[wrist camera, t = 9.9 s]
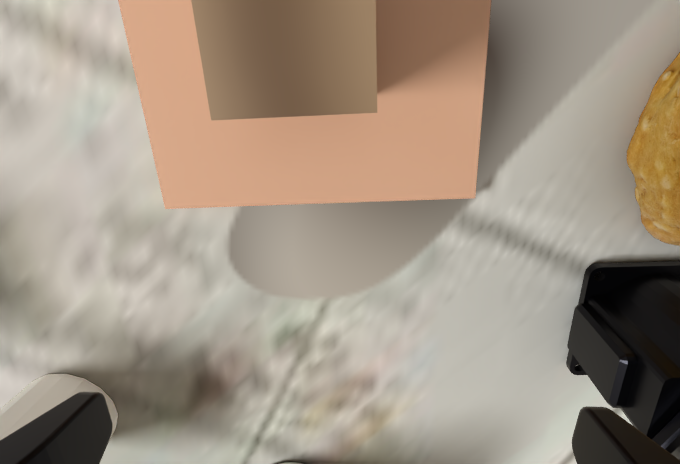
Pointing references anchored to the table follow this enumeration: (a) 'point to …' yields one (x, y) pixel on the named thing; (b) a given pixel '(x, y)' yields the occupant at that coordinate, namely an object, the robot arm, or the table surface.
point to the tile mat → (323, 130)
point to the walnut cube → (287, 57)
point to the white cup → (46, 400)
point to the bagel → (659, 158)
